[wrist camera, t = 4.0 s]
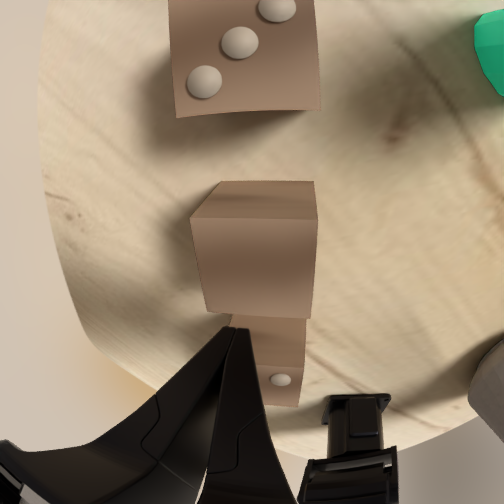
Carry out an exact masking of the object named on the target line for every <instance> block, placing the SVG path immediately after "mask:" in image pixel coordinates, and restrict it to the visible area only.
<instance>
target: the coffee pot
mask: <svg viewBox="0 0 504 504" xmlns="http://www.w3.org/2000/svg"><path fill="white" fill-rule="evenodd" d="M468 402H469V404H470V406H471V407H472V408H473V409H474V410H475V411H476V412H477V414H478V415H479V416H480V417H481V418H482V419H483V420H484V421H485V422H486V423H487V425H489V427H490V428H491V429H492V430H493V431H494V432H495V433H496V435H497V436H499V438H500V439H501V440H502V441H503V443H504V339H503V340H501V341H500V342H499V343H498V344H496V345H495V346H494V347H493V348H492V349H491V350H490V351H489V352H488V353H487V354H486V355H485V356H484V358H483V359H482V360H481V362H480V363H479V365H478V367H477V371H476V373H475V375H474V377H473V379H472V381H471V383H470V387H469V392H468Z"/></svg>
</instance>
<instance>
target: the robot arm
mask: <svg viewBox="0 0 504 504" xmlns="http://www.w3.org/2000/svg"><path fill="white" fill-rule="evenodd" d="M390 400H391V395H390V394H383V395H362V396H332V397H330V398H329V401H328V404H327V406H326V409H325V412H324V415H323V418H322V425H328V445H327V459H317V460H315V459H309V460H308V463H307V466H306V468H305V472H304V476H303V480H302V483H301V487H300V491H299V494H298V496H297V502H298V503H299V504H399V471H398V456H397V446H392V447H391V448H387V449H384V441H383V427H382V415H381V414H382V412H383V411H384V409H385V408H386V406H387V405H388V403H389V402H390ZM391 463H392V466H389V467H385V465H387V464H391ZM206 469H207V471H206ZM205 471H206V473H207V475H206V478H205V483H204V487H203V490H202V493H201V495H200V498H199V501H198V502H197V504H297V502H296V500H295V498H294V496H293V494H292V491H291V489H290V487H289V484H288V482H287V479H286V477H285V474H284V472H283V469H282V467H281V465H280V462H279V459H278V457H277V454H276V451H275V448H274V445H273V443H272V440H271V436H270V432H269V428H268V423H267V418H266V414H265V409H264V404H263V398H262V393H261V388H260V383H259V378H258V372H257V367H256V362H255V356H254V351H253V345H252V340H251V334H250V330H249V329H248V328H240V327H238V328H236V327H229V326H224V327H223V328H222V329H221V330H220V331H219V332H218V333H217V334H216V335H215V336H214V337H213V338H212V339H211V340H210V341H209V342H208V343H207V344H206V345H205V346H204V347H203V348H202V349H201V350H200V351H199V352H197V353H196V354H195V355H194V356H193V357H192V358H191V359H190V360H189V361H188V362H187V363H186V364H185V365H184V366H183V367H182V368H181V369H180V370H179V371H178V372H177V373H176V374H175V375H174V376H173V377H172V378H171V379H170V380H169V381H168V382H167V383H165V384H164V385H163V386H162V387H161V388H160V389H159V390H158V391H157V392H156V394H154V395H153V396H152V397H151V398H149V399H148V400H147V401H146V402H145V403H144V404H143V405H142V406H141V407H139V408H138V409H137V410H136V411H135V412H133V413H132V414H131V415H130V416H128V417H127V418H126V419H124V420H123V421H122V422H120V423H119V424H117V425H116V426H114V427H113V428H112V429H110V430H109V431H107V432H106V433H104V434H103V435H102V436H100V437H99V438H97V439H96V440H94V441H92V442H90V443H88V444H85V445H82V446H77V447H71V448H64V449H56V450H48V451H37V452H26V451H23V450H21V449H20V448H19V447H17V446H16V445H14V444H13V443H12V442H10V441H9V440H6V439H5V440H1V441H0V504H195V501H196V498H197V496H198V492H199V489H200V486H201V484H202V481H203V477H204V475H205Z"/></svg>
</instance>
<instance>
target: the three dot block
mask: <svg viewBox="0 0 504 504" xmlns="http://www.w3.org/2000/svg"><path fill="white" fill-rule="evenodd" d="M168 9H169V33H170V51H171V65H172V78H173V89H174V100H175V110H176V118H181V117H189V116H197V115H206V114H216V113H227V112H241V111H261V110H321V107H320V77H319V58H318V43H317V30H316V19H315V9H314V0H168Z"/></svg>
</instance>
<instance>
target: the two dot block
mask: <svg viewBox="0 0 504 504" xmlns="http://www.w3.org/2000/svg"><path fill="white" fill-rule="evenodd" d="M229 327H236V328H238V327H240V328H248V329H249V330H250V334H251V340H252V345H253V351H254V356H255V362H256V367H257V372H258V378H259V383H260V388H261V393H262V398H263V404H264V405H274V406H287V407H298V403H299V398H300V391H301V385H302V379H303V372H304V362H305V342H306V319H305V318H284V317H267V316H252V315H239V314H233V315H232V318H231V321H230V324H229Z"/></svg>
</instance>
